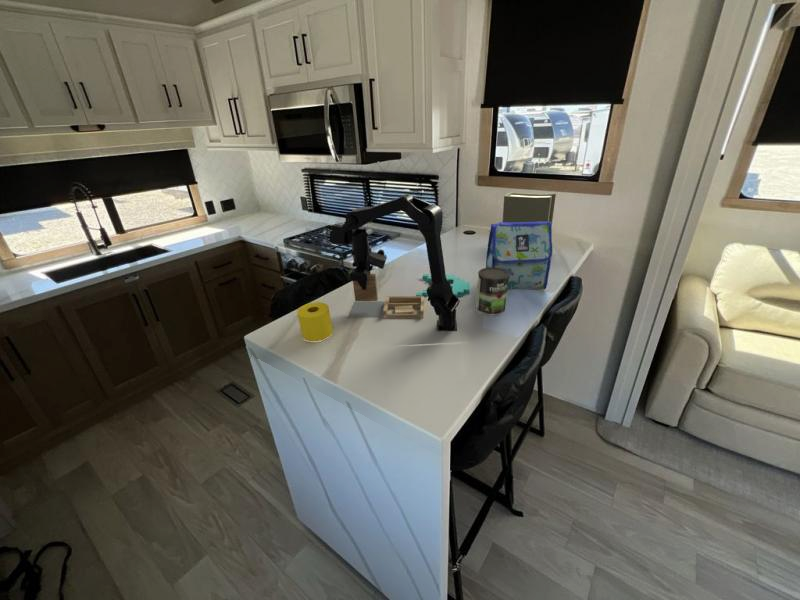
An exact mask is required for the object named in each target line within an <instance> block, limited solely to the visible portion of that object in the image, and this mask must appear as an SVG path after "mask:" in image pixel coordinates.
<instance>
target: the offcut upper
mask: <svg viewBox="0 0 800 600" xmlns="http://www.w3.org/2000/svg"><path fill="white" fill-rule="evenodd" d="M413 309H414V308H413V307H412V306H396V307H395V308H394V312H395V314H413Z"/></svg>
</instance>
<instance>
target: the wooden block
mask: <svg viewBox="0 0 800 600" xmlns="http://www.w3.org/2000/svg"><path fill="white" fill-rule="evenodd" d="M376 274H377V273H370V276H369V277H368V280H367V284H366V290H363V289H362V288H361V286H360V285H359V283H358V282H357V281H352V285H353V294H354V300H355V301H354V302H357V301H378V299H379V298H378V287H377V276H376Z"/></svg>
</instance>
